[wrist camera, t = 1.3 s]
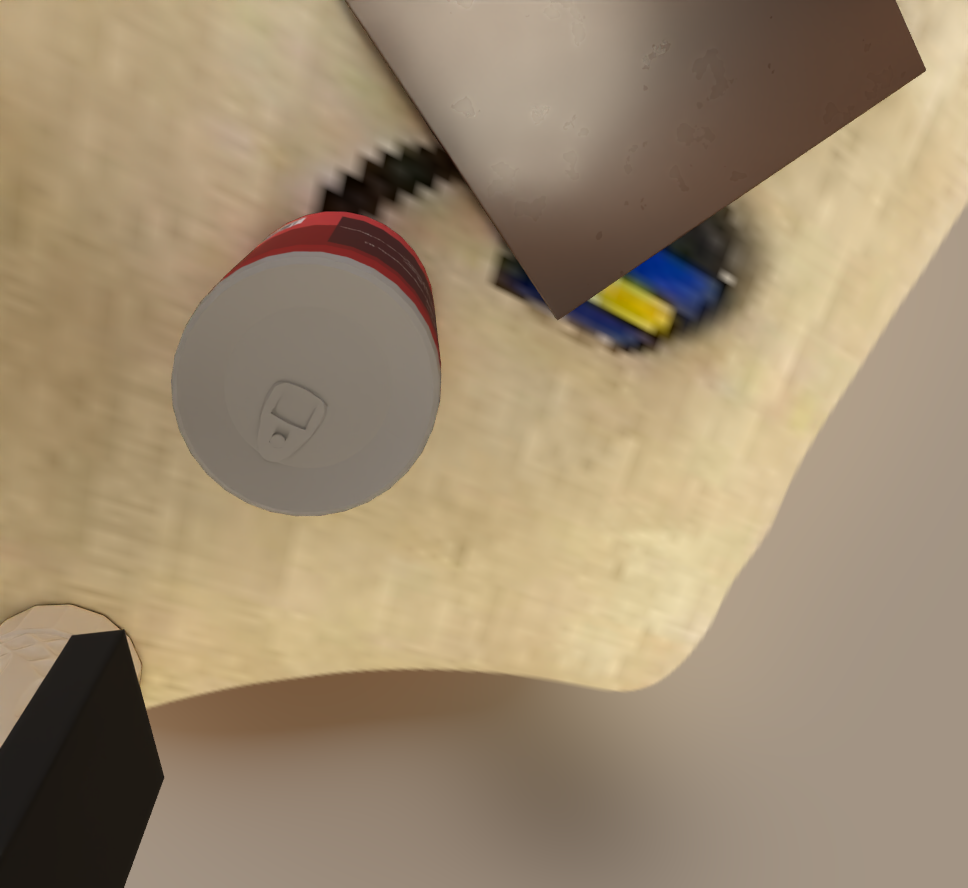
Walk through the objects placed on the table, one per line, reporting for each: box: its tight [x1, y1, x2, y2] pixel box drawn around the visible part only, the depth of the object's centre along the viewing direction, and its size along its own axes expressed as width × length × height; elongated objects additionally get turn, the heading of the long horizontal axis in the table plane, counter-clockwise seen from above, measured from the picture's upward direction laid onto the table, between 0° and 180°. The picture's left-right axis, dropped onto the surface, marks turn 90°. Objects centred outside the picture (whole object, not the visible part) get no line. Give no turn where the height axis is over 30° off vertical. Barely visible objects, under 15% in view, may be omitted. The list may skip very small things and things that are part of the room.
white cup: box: [0, 605, 142, 748], centre depth 36 cm, size 8×8×10 cm
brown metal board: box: [345, 0, 926, 320], centre depth 32 cm, size 14×16×2 cm
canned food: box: [171, 212, 441, 516], centre depth 31 cm, size 8×8×11 cm
